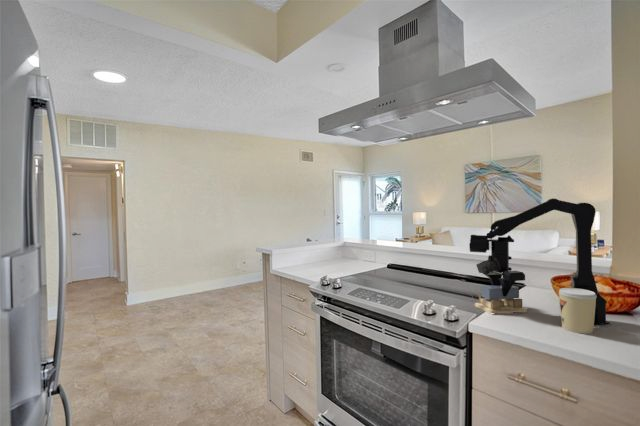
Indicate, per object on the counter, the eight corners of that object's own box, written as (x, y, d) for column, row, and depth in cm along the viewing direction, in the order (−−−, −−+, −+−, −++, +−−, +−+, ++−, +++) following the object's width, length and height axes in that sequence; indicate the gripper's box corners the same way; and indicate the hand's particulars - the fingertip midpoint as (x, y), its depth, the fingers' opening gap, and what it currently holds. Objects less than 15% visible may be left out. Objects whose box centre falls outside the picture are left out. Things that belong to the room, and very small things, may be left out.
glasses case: (519, 298, 120) (518, 287, 120) (489, 299, 119) (489, 289, 119) (510, 294, 125) (510, 284, 125) (481, 296, 123) (481, 286, 123)
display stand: (527, 312, 118) (527, 299, 118) (491, 314, 116) (491, 302, 116) (507, 304, 128) (507, 292, 128) (475, 306, 126) (474, 294, 126)
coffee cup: (561, 321, 108) (561, 286, 108) (598, 328, 101) (598, 290, 101) (556, 329, 101) (555, 291, 101) (594, 337, 95) (594, 297, 94)
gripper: (465, 250, 130) (466, 289, 130) (497, 258, 111) (497, 302, 111) (491, 249, 131) (491, 288, 131) (526, 256, 112) (526, 301, 113)
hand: (500, 294), depth 122 cm, fingers closed on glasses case, 4 cm apart
